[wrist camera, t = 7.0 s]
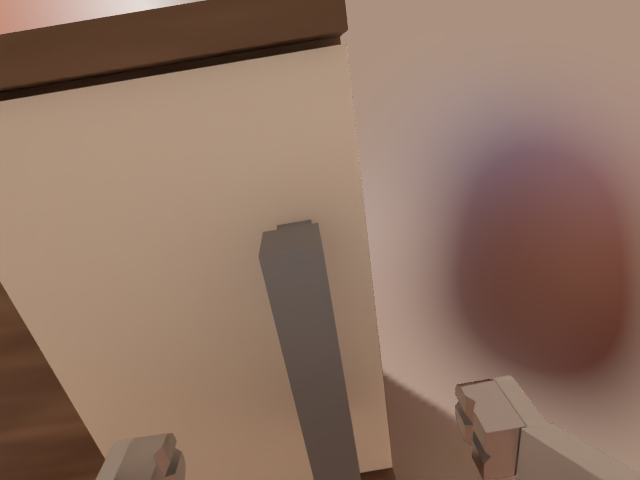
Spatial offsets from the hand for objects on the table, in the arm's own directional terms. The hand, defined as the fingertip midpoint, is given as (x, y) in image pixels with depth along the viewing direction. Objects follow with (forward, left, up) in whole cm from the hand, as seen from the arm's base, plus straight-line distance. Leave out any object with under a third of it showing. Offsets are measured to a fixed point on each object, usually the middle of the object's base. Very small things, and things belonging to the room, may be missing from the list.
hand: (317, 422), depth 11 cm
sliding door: (+1, +5, -9) cm, 11 cm away
